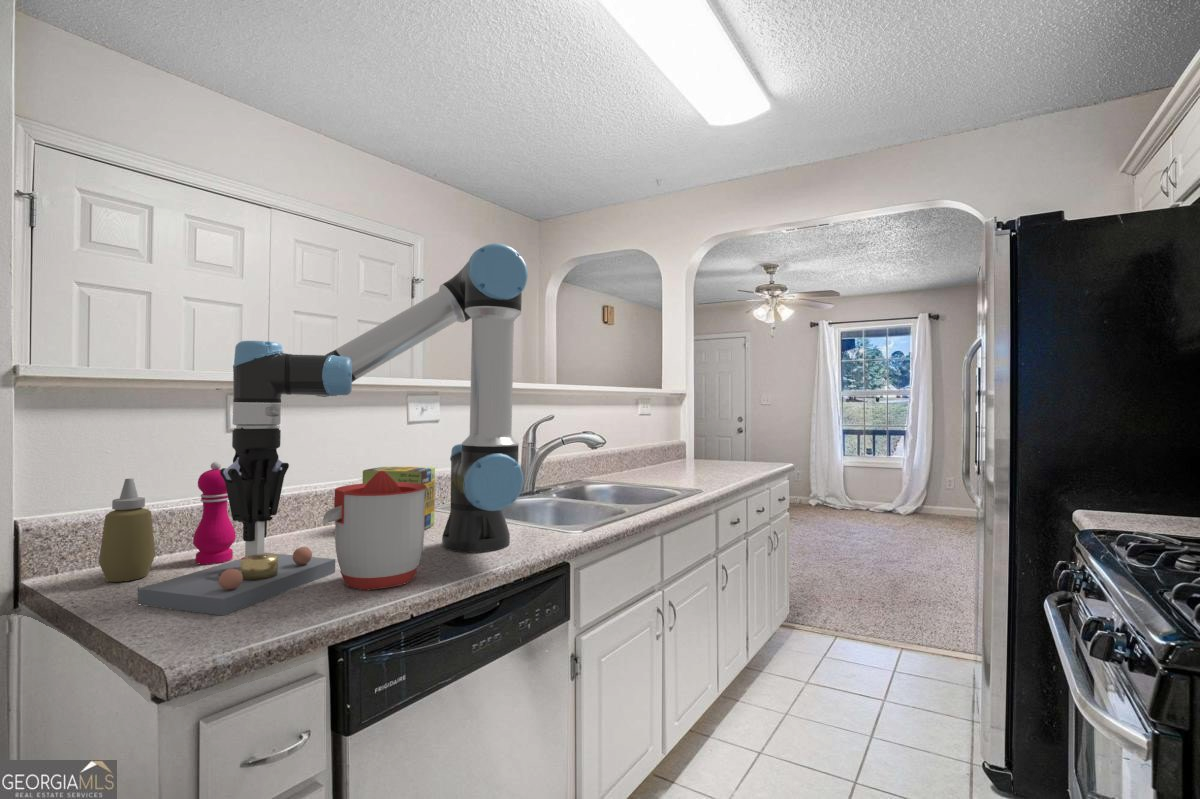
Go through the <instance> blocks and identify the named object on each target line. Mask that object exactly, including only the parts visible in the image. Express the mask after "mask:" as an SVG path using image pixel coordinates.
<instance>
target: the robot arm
mask: <svg viewBox="0 0 1200 799" xmlns="http://www.w3.org/2000/svg"><path fill="white" fill-rule="evenodd" d="M528 272H529V271H528V267H527V264H526V262H525V260H524V258H523V257H522V255H521V254H520V253H519V252H518V251H517V250H515V249H514V248H513V247H511V246H509V245H506V244H504V243H503V244H502V243H499V242H498V243H489V244H486V245H483V246H482V247H480V248H478V249H476V250H475V251H474V252H473V253H472V254H471V256H470V258H469V260H468V261H467V262H466V263H465V265H464V266H463V268H461V270H460V271H459V272H457V273H456V274H455V275H454V276H453V277H451V278H450V279H448V280H447V281H445V282H444V283H441V284H440V285H439V287H438V291H437V292H435V293H433V294H431V295H430V296H428V297H426V298H425V299H422V300H421V301H419V302H418V303H416V304H414V305H412V306H411V307H409V308H407V309H406V310H403V311H401V312H400V313H398V314H396V315H395V316H393V317H391V318H389V319H387V320H386V321H384V322H381V323H380V324H378V325H377V326H375V327H372V328H371V329H369V330H368V331H366V332H364V333H362V334H360V335H358V336H357V337H355V338H353V339H351V340H350V341H349V342H346V343H344V344H343V345H340V346H339V347H337V348H335V349H334V350H332V351H330V352H328V353H326V354H325V355H324V354H320V355H319V354H292V353H286V352H285V353H284V350H283V346H282V344H281V343H279V342H275V341H264V340H242V341H240V342H238V343H237V344H236V345H235V346H234V347H235V348H234V361H233V362H234V363H233V365H232V368H233V371H232V372H233V378H232V380H233V382H232V383H233V385H232V386H233V393H232V394H233V399H232V401H233V403H232V425H234V426H235V428H234V429H233V430H232V434H231V437H232V438H231V439H232V441H231V445H232V449H233V450H234V451H235V454H234V456H233V459H232V464H230V465H229V466H228V467H227V468H226V467H225V468H220V469H221V470H220V474H221V476H222V478H223V479H224V481H225V484H226V489H227V494H228V499H229V500H228V503H229V504H228V505H229V508H230V513H231V519H232V521H234V522H238V523H241V524H242V539H243V542H245V543H244V544H245V549H244V550H245V551H244V557H245V556H249V555H254V554H261V553H265V539H266V538H267V535H268V534H267V532H268V522H270V521H272V520H273V516H276V515H277V513H278V511H279V510H278V509H279V504H280V499H281V496H282V489H283V486H284V479H285V476H286V473H287V471H288V470H289V467H290V464H289V463H288V462H283V461H281V460H280V459H279V458H280V456H279V454H278V451H277V449H278V448H280V447H281V439H282V438H281V435H282V432H281V430H282V429H280V428H278V427H277V426H280V424H282V423H281V422H282V421H281V420H282V419H281V415H282V414H281V413H282V411H281V410H282V408H281V407H282V395H290V396H291V395H299V396H301V395H302V396H316V397H322V398H327V397H330V396H331V397H337V396H348V395H350V394H351V392H352V388H353V387H352V385H353V384H352V383H353V382H355V381H356V380H358V379H359V378H362V377H364V376H365V375H367V374H368V373H370V372H372V371H374V370H376V369H377V368H379V367H381V366H383V365H385V364H386V363H388V362H389V361H391V360H392V359H394V358H396V357H397V356H400V355H401V354H403V353H405V352H406V351H408V350H410V349H411V348H413V347H415V346H416V345H419V344H420V343H422V342H424V341H425V340H427V339H429V338H430V337H433V336H434V335H436V334H437V333H440V331H442V330H444V329H446V328H447V327H449V326H451V325H453V324H455V323H456V322H459V323H462V324H463V323H464V324H465V323H466V322H467V321H469V320H470V319H471V349H470V350H471V353H470V355H471V356H470V398H469V399H470V401H469V402H470V404H469V406H470V407H469V408H470V409H469V435H468V437H466V438H465V439H464V440H463V441H462V442H461V443H459V444H455V445H453V446H452V448H451V453H450V458H449V460H450V512H449V515H448V517H447V520H446V524H445V527H444V530H443V532H442V537H441V540H442V541H441V546H442V548H444V549H446V550H449V551H453V552H460V553H461V552H464V553H465V552H466V553H475V552H476V553H479V552H489V551H496V550H500V549H503V548H505V547H509V545H510V543H511V542H510V541H511V538H510V536H511V535H510V534H511V533H510V529H509V527H508V524H507V521H506V518H505V514H504V509H506V508H509V506H512V504H514V502H516V500H517V499H518V498H519V497H520V495H521V493H522V490H523V487H524V474H523V469H522V467H521V465H520V464H519V445H520V443H519V442H518V441H517V440H516V439H515V438H514V437H513V435H512V434H513V433H512V432H513V430H512V425H513V424H512V423H513V422H512V421H513V418H512V417H513V382H514V381H513V377H514V376H513V374H514V332H515V331H514V328H515V327H514V326H515V323H514V322H515V321H516V320H517V318H519V317H520V316H521V315H522V301H523V300H522V298H523V296H522V294H523V293H522V292H524V290H525V288H526V285H527V282H528V279H529V278H528V277H529V276H528V275H529V274H528Z"/></svg>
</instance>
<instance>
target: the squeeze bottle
mask: <svg viewBox="0 0 1200 799" xmlns="http://www.w3.org/2000/svg"><path fill="white" fill-rule="evenodd" d="M134 480H135V479H134V478H132V477H131V478H125V479H124V481H123V486H122V488H121V492H120V496H119V498H115V499H112V502H111V509H112V510H111V511H110V512H108V513H106V515H105V516H104V522H103V523H104V524H103V530H102V537H101V544H100V550H99V558H98V564H99V567H100V568H101V570H102V574H103V576H104V577H105V581H107V582H110V583H123V581H124V582H131V581H135V580H138V579H142V578H145V577H147V576H148V574H149V572H150V570H151V567H152V565H153V562H154V559H155V557H156V547H155V536H154V526H153V525H154V524H153V518H152V511H151V510H149V509H148V508H144V507H145V506H146V498H145V497H140V496H138V492H137V491H138V490H137V486H136V484H135V481H134ZM130 580H131V581H130Z"/></svg>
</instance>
